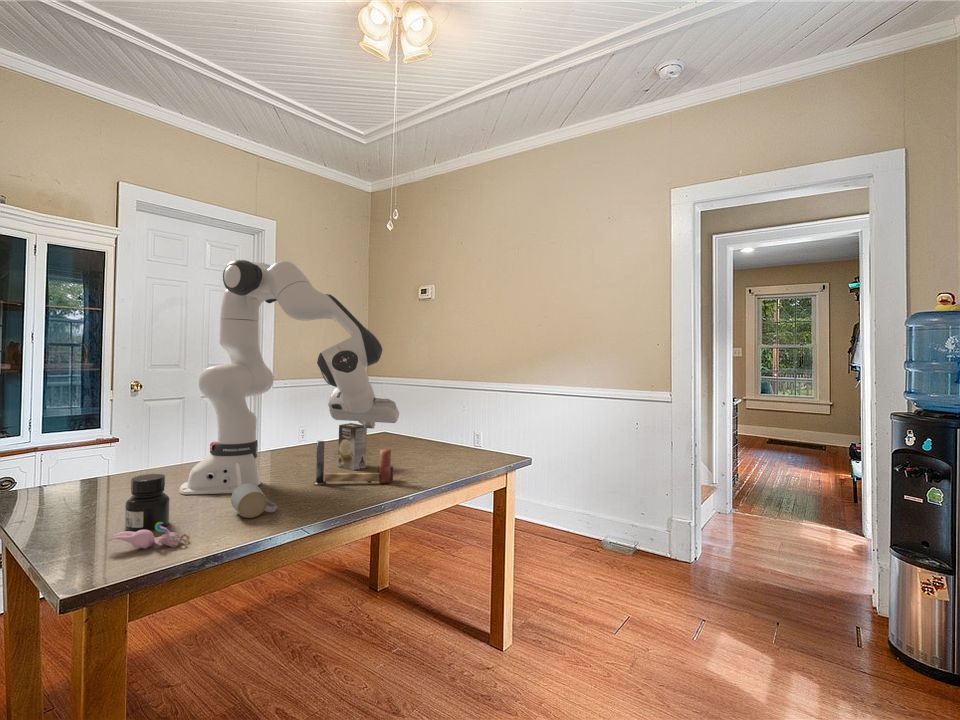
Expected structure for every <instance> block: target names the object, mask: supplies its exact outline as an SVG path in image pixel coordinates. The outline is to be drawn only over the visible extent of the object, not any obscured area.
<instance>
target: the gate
mask: <svg viewBox="0 0 960 720" xmlns="http://www.w3.org/2000/svg"><path fill="white" fill-rule="evenodd" d="M391 453H392V450H391V449H380V450H379V465H380V469H379V473H378V472H362V473H361V472H357V473H355V472H352V473H351V472H350V473H349V472H348V473H347V472H345V473H342V472H341V473H338V472H337V473H335V472H334V473H332V472H331V473H325V472H324V482H326V483H328V482H329V483H330V482H332V483H333V482H334V483H336V482H337V483H338V482H343V483H344V482H366V483H368V484H370V483H372V482H378V481H379V483H380V484H389V483H391V482H390V466H391V465H392V463H391V461H392V459H391V458H392V454H391Z"/></svg>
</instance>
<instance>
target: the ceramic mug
mask: <svg viewBox="0 0 960 720" xmlns="http://www.w3.org/2000/svg"><path fill="white" fill-rule="evenodd" d="M230 503H231V506H232V507H233V508H234V509H235V511H236V512H237V513H238V514H239V515H240V517H243V518H245V519H254V518H257V517H259V516H260V515H262V514H263V513H264V512H267V513H275V512H276V510H277V508H278V506H277V504H276V503H274V502H272V501H270V500H268V499H267V497H266V495H265V493H263V491H262V490H261V488H260V487H259V485H258V486H257V485H255V484H252V483H245V484H242V485H240V486H238V487H237V488H236V489H235V490H234V492H233V493H231V496H230Z"/></svg>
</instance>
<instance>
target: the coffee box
mask: <svg viewBox="0 0 960 720" xmlns="http://www.w3.org/2000/svg"><path fill="white" fill-rule="evenodd" d="M367 430H368V428H365V427H364V425H362V424H361V423H353V422H350V423H343V424H339V425H338V453H337V454H338V455H337V467H339V468H342V469H346V470H350V469H351V471H358V470H361V469H366V467H367V466H366V465H367V464H366V463H367V438H368V437H367V435H368V434H367V433H368V431H367ZM360 468H361V469H360ZM357 469H358V470H357Z"/></svg>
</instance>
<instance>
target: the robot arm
mask: <svg viewBox="0 0 960 720" xmlns="http://www.w3.org/2000/svg"><path fill="white" fill-rule="evenodd" d="M222 281H223V285H224V286H225V290H224V292H223V295H222V300H221V305H220V313H219V314H220V316H219V317H220V319H219V344H220V346H221V348H223V349H224V350H226V352H227V353H228V355H229V358H230V362H231V363H220V364H216V365H213V366H210V367H207V368H205V369H204V370H202V372H201V374H200V375H199V379H198V387H199V390H200V392H201V394H202V395H203V396H204V397H206V398H207V399H208V400H209V401H210V402H211V405H212V407H213V409H214V411H215V414H216V421H217V441H215V440H213V441H212V442H210V444H209V453H210V454H209V455H207V456H206V457H205V458H204V459H202V460H201V461H198V463H196V464H195V465H194V466H193V467H192V469H191V470H190V472H189V474H188V480H187V481H185V482H183V483H182V484H181V485H180V487H179V493H180V494H181V495H208V494H209V495H210V494H211V495H212V494H213V495H214V494H232V493H233V492H234V490H235V489H236V488H237V487H238V486H240V485H242V484H245V483H252V484H255V485H257V486H258V487H259V485H261V484H262V482H261V478H260V475H259V471H258V461H257V458H258V455H259V453H258V452H259V443H258V439H257V422H258V421H257V420H258V419H257V416H256V415H255V413H254V412H253V411H251V410H250V409H249V407H248V404H247V401H246V398H250V397H257V396H260V395H262V394H265V393H266V392H269V390H271V388H272V386H273V384H274V375H273V371H271V369H270V368H269V367H268V366H267V365H266V363H265V362H264V358H263V356H262V354H261V349H260V338H259V337H260V336H259V335H260V334H259V332H260V331H259V329H260V328H259V323H260V319H259V318H260V315H259V312H260V311H259V310H260V306H261V305H262V303H264V302H266V304H271V303H275V302H277V303H278V305H279V306H280V307H281V309H282V310H283V312H284V313H285V314H286V315H287V316H288V317H289V318H291V319H294V320H297V321H303V322H304V321H305V322H306V321H307V322H308V321H314V320H315V321H316V320H324V319H325V320H326V319H327V320H334V321H336V322H337V323H339V325H340V326H341V327H342V328H343V329H344V330H345V331H346V332H347V333H348V334H349V335H350V337H349V338H347V339H344V340H342V341H341V342H338V343H337V344H334V345H332V346H330V347H328V348H326V349H324V350H322V351H321V352H320V353H319V354H318V357H317V362H316V364H317V366H318V368H319V370H320V372H321V376H322V377H323V379H324V381H325V382H326V384H328V385H330V386H332V387H335V388H334V389H333V391H332V393H331V395H330V397H329V400H328V404H327V406H328V409H329V414H330V416H331V418H332V419H334V420H335V421H345V422H346V421H348V422H349V421H350V422H358V424H360V425H364V427H365V428H367V429H375V427H376V423H383V424H384V423H386V424H395V423H397V422H398V419H399V416H400V412H399V409H398V407H397V404H396V401H394V400H391V399H389V398H378V397H376V395H375V392H374V389H373V386H372V384H371V382H370V380H369V379H370V378H369V374H368V372H367V369H366V368H367V367H369V366H372V365H374V364H376V363H379V361H380V359H381V356H382V353H383V347H382V344H381V342H380V340H379V339H378V338H377V337H376V336H375V334H373V333H372V332H371V331H370V330H368V328H366V326H364V325H363V324H362V323H361V322H360V321H359V320H358V319H357V318H356V317H355V316H354V315H353V314H352V313H351V311H350V310H348V309H347V308H346V307H345V306H344V305H343V303H342V302H340V301H339V300H338V299H337V298H336V297H335V296H333V295H332V294H329V293H328V294H327V293H323V292H321V291H319V290H318V289H316V288H315V287H314V286H313V285H312V283H311V282H310V280H309V279H308V278H307V276H306V275H305V274H304V272H303V271H302V270H301V269H300V268H299V267H298V266H296V265H295V263H294V262H291V261H287V260H281V261H277V262H275V263H274V264H272V265H271V264H268V263H264V262H255V261H249V260H245V259H238V260H237V259H235V260H233V261H232V260H231V261H230V262H228V264H227V265H226V266H225V268H224V270H223V272H222Z"/></svg>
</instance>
